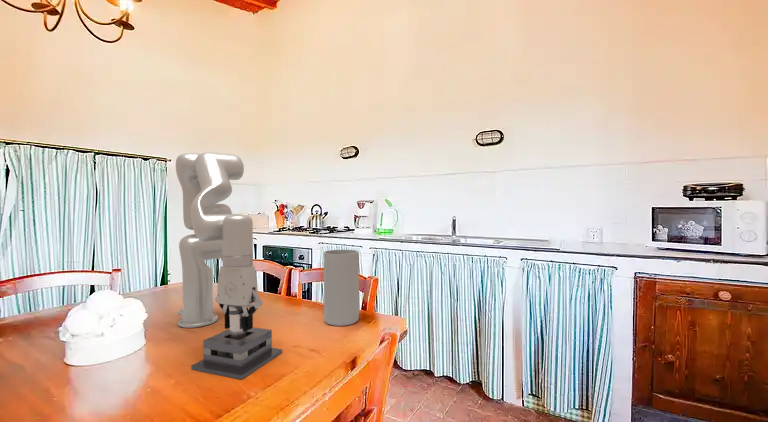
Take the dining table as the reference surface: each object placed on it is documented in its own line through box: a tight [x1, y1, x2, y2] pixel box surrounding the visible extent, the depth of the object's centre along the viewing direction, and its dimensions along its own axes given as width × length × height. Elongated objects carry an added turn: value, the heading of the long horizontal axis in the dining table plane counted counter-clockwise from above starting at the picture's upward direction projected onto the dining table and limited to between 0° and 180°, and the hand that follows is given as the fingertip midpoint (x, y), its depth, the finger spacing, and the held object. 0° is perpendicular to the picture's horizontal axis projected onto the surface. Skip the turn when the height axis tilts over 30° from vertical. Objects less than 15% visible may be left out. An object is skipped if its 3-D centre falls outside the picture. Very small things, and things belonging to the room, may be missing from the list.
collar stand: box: [190, 326, 283, 380], centre depth 93 cm, size 16×16×7 cm
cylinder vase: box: [323, 249, 360, 327], centre depth 125 cm, size 12×12×25 cm
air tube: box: [229, 305, 246, 340], centre depth 93 cm, size 4×4×15 cm
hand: (238, 327), depth 93 cm, fingers open, 5 cm apart
